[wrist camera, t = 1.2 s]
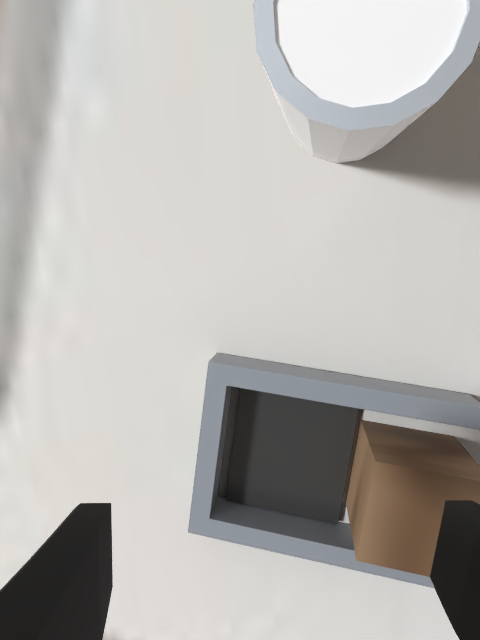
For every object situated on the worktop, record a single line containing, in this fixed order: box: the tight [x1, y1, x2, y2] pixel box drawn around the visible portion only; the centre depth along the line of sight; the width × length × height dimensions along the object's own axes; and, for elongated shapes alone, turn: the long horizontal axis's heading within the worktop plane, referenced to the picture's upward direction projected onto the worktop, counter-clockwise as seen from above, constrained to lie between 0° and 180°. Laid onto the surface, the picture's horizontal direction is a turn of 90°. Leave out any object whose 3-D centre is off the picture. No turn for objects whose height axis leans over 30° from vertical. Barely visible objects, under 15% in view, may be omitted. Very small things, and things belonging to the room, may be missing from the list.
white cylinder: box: [254, 0, 480, 163], centre depth 15 cm, size 7×7×7 cm
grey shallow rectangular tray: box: [188, 353, 480, 588], centre depth 20 cm, size 12×9×2 cm
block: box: [346, 420, 480, 577], centre depth 19 cm, size 4×4×4 cm
